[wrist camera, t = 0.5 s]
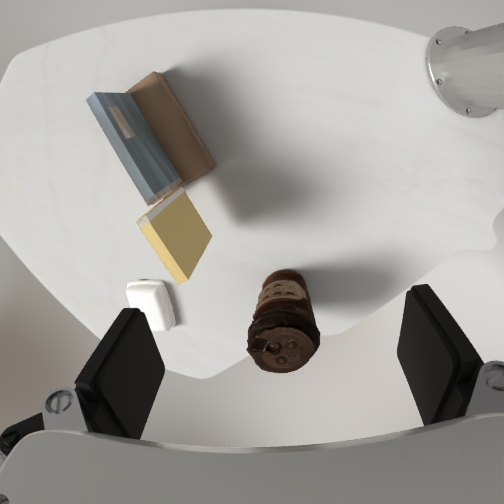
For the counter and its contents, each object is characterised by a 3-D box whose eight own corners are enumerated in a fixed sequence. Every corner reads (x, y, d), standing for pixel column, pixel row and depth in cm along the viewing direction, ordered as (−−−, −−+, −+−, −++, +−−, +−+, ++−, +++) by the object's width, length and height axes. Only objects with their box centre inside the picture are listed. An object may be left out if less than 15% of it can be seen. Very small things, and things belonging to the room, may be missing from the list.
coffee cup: (242, 276, 44) (226, 337, 32) (295, 250, 41) (298, 307, 29) (273, 320, 46) (267, 386, 35) (323, 299, 44) (333, 363, 32)
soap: (126, 278, 46) (118, 288, 44) (165, 277, 46) (158, 287, 43) (142, 324, 50) (136, 335, 48) (178, 325, 49) (173, 336, 47)
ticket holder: (161, 73, 33) (121, 64, 23) (216, 165, 37) (192, 184, 28) (108, 113, 35) (60, 119, 26) (159, 199, 40) (123, 228, 31)
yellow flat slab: (182, 186, 35) (145, 215, 26) (212, 235, 38) (188, 279, 28) (173, 191, 36) (134, 222, 26) (203, 240, 38) (177, 285, 29)
